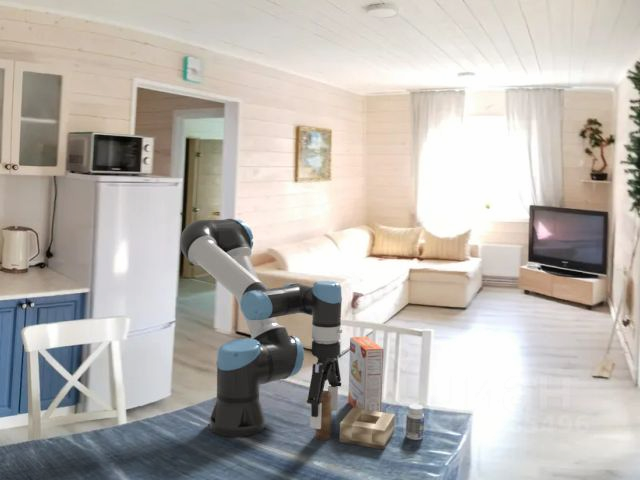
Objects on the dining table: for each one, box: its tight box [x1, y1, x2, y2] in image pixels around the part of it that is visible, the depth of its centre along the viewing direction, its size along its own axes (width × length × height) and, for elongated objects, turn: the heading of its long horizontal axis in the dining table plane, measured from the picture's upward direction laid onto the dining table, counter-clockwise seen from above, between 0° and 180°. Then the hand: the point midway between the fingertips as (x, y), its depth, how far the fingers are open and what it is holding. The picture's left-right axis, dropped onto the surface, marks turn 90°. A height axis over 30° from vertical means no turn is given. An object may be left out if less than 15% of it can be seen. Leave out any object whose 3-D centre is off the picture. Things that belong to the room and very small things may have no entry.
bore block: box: [338, 407, 396, 450], centre depth 160 cm, size 12×12×5 cm
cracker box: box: [347, 336, 384, 412], centre depth 178 cm, size 14×6×21 cm, turn 16°
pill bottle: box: [405, 403, 425, 441], centre depth 161 cm, size 5×5×8 cm
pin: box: [314, 390, 332, 441], centre depth 159 cm, size 4×4×12 cm
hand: (324, 418), depth 159 cm, fingers open, 13 cm apart
